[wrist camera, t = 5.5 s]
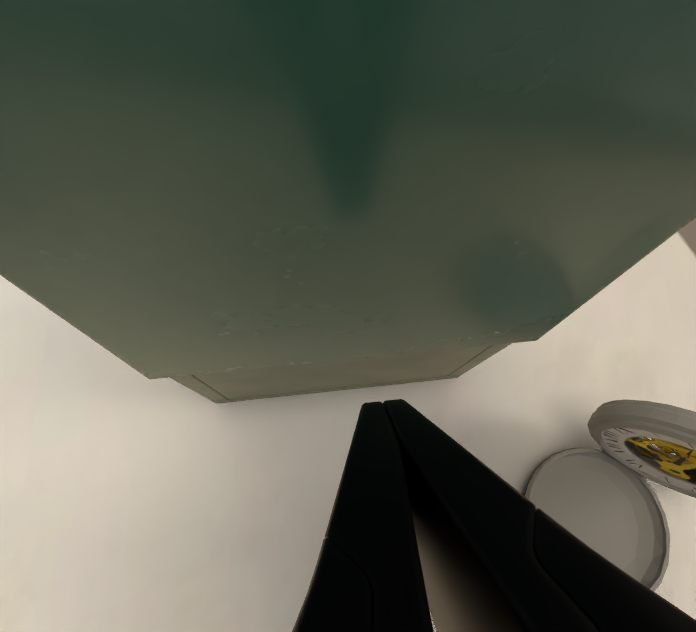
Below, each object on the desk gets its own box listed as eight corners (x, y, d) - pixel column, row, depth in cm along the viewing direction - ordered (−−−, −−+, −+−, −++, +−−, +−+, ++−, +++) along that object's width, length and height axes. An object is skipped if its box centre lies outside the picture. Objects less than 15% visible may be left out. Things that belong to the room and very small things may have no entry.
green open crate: (213, 180, 25) (168, 62, 18) (414, 168, 26) (450, 53, 19) (215, 403, 20) (155, 370, 13) (457, 377, 22) (527, 333, 14)
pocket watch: (529, 603, 18) (750, 754, 9) (504, 412, 21) (650, 372, 12) (702, 599, 19) (1087, 738, 9) (654, 413, 22) (913, 374, 12)
